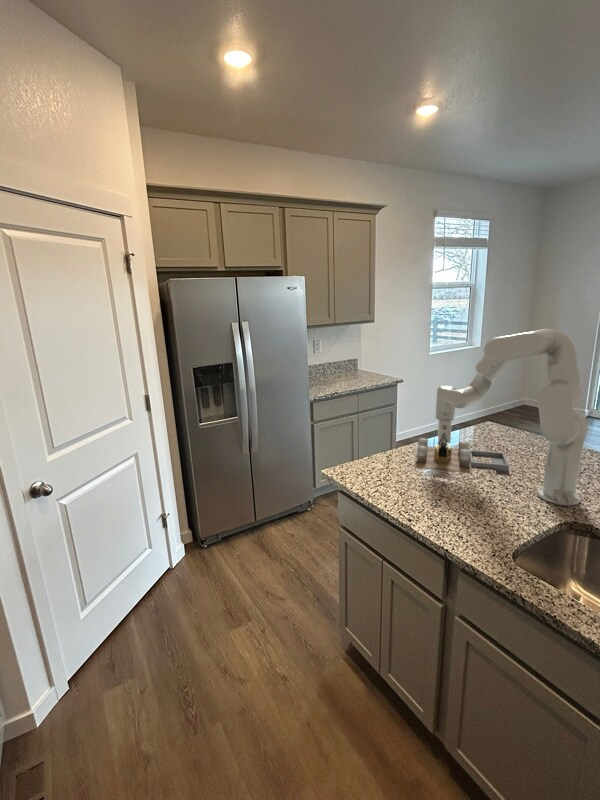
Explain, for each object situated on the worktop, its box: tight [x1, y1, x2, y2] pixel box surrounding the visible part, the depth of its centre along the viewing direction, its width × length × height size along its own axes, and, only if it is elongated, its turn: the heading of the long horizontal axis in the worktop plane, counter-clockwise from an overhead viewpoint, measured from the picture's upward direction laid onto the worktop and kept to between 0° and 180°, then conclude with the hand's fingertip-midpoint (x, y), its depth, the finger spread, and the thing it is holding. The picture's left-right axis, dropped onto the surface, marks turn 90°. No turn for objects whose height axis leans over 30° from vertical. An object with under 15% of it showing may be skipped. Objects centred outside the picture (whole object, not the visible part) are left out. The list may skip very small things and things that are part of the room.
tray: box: [468, 449, 510, 473], centre depth 164 cm, size 14×14×3 cm
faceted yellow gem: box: [434, 444, 453, 461], centre depth 169 cm, size 7×6×5 cm
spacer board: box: [416, 437, 471, 474], centre depth 169 cm, size 26×21×7 cm
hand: (442, 452), depth 169 cm, fingers open, 9 cm apart
